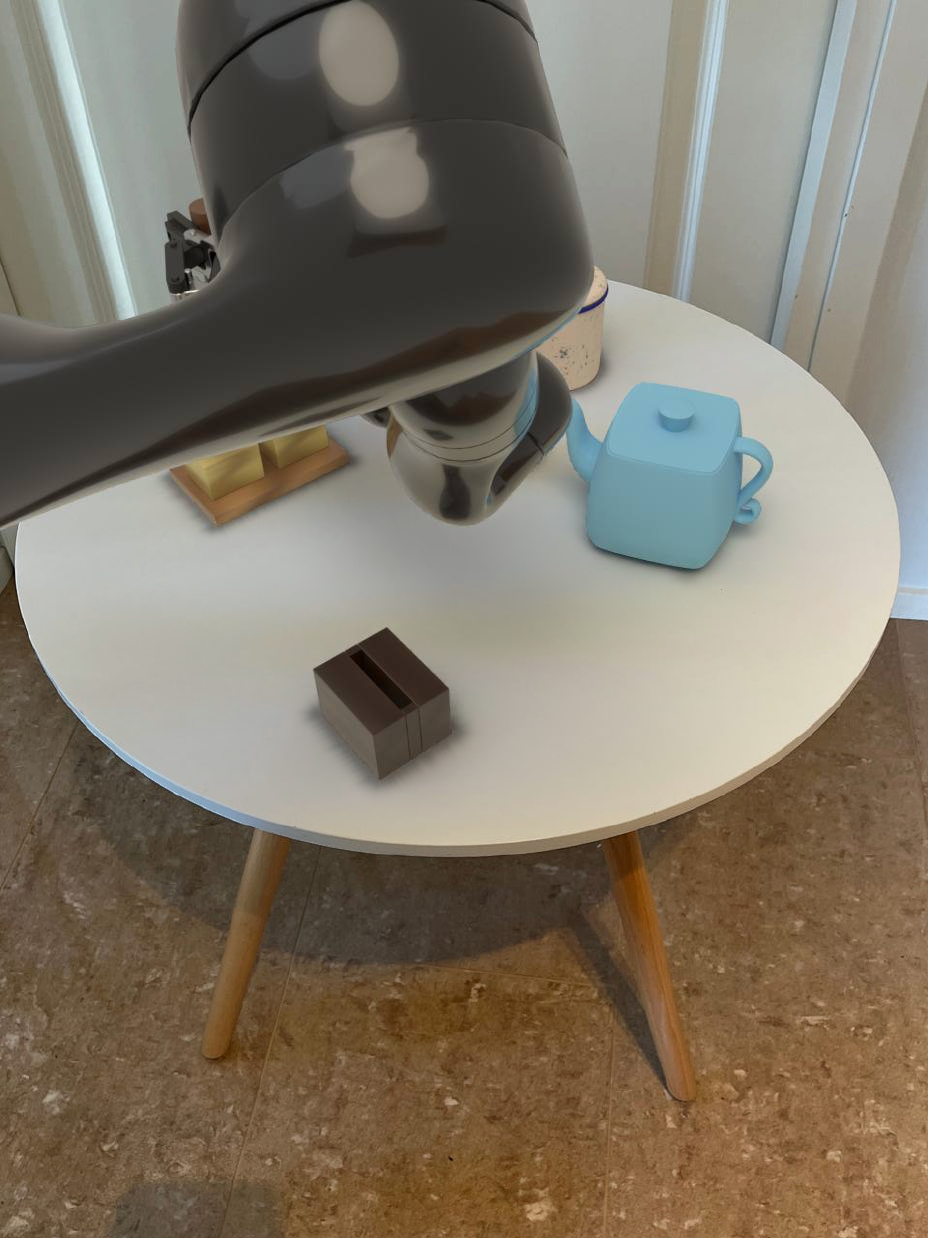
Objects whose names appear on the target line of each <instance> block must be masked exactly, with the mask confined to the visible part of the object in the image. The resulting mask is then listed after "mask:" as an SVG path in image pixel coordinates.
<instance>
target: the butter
mask: <svg viewBox="0 0 928 1238" xmlns="http://www.w3.org/2000/svg"><path fill="white" fill-rule="evenodd" d="M349 463H350V459H349V453H348V451H346V449H344V448H343V447H342V446H341V445H339V444H338V442H336V441H335V440H334V439H332V438H331V436H329V435H328V433H327V424H325V425H321V426H318V427H314V428H311V429H307V430H304V431H300V432H297V433H293V434H289V435H286V436H282V437H279V438H275V439H272V440H268V441H265V442H261V443H258V444H254V445H250V446H247V447H243V448H240V449H237V450H233V451H230V452H226V453H223V454H219V455H216V456H212V457H209V458H205V459H202V460H198V461H195V462H192V463H188V464H185V465H181V466H178V467H175V468H171V469H168V470H169V473H170V476H171V479H172V480H173V482H175V484H176V485H177V486H178V487H179V488H180V489H181V490H182V491H183V492H184V493H185V494H186V495H187V496H188V497H189V498H190V500H191V501H192V502H193V503H194V504H195V505H196V506H197V507H198V508H199V509H200V510H201V511H202V512H203V513H204V514H205V515H206V516H207V517H208V518H209V519H210V520H211V522H212V523H213V524H214V525H215V526H216V527H219V526H221V525H223V524H226V523H227V522H229V521H231V520H234V519H235V518H238V517H239V516H242V515H244V514H246V513H248V512H250V511H253V510H255V509H256V508H258V507H261V506H262V505H264V504H266V503H269V502H271V501H273V500H275V499H277V498H278V497H281V496H283V495H285V494H287V493H289V492H291V491H293V490H295V489H298V488H299V487H302V486H305V485H306V484H308V483H310V482H312V481H314V480H316V479H318V478H320V477H322V476H325V475H326V474H328V473H330V472H333V471H334V470H336V469H339V468H341V467H343V466H345V465H347V464H349Z"/></svg>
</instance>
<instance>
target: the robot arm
mask: <svg viewBox="0 0 928 1238" xmlns="http://www.w3.org/2000/svg"><path fill="white" fill-rule="evenodd" d="M174 49H175V63H176V74H177V79H178V88H179V95H180V102H181V109H182V115H183V120H184V125H185V130H186V135H187V137H188V141H189V145H190V152H191V155H192V159H193V163H194V167H195V171H196V177H197V180H198V184H199V189H200V193H201V196H202V197H201V198H203V201H204V205H205V209H206V213H207V217H208V221H209V225H210V230H211V234H212V235H209V234H207V233H205V232H203V231H201V230H199V227H198V226H197V225H195V224H193V223H192V221H191V219H189V218H188V217H186V216H185V215H184V214H182V213H181V212H180V211H179V210H173V211H169V212H167V213H166V220H165V221H164V227H165V231H166V234H167V239H168V241H167V242H165V244H164V263H165V265H164V266H165V280H166V281H165V282H166V285H167V289H168V294H169V298H170V301H171V303H170V304H167V305H165V306H161V307H160V308H156V309H155V310H151V311H148V312H145V313H141V314H138V315H135V316H132V317H128V318H124V319H120V320H113V321H108V322H107V321H106V322H102V323H95V324H87V325H75V324H67V323H59V322H52V321H46V320H41V319H34V318H30V317H25V316H23V315H22V316H21V315H17V314H13V313H8V312H5V311H2V310H0V531H2V530H4V529H7V528H10V527H12V526H14V525H15V526H16V525H17V524H19V523H22V522H25V521H27V520H29V519H32V518H35V517H38V516H40V515H42V514H45V513H47V512H50V511H52V510H55V509H58V508H61V507H63V506H66V505H68V504H71V503H73V502H76V501H79V500H81V499H84V498H87V497H90V496H92V495H96V494H98V493H100V492H101V493H102V492H104V491H106V490H109V489H112V488H115V487H118V486H120V485H123V484H127V483H129V482H132V481H136V480H139V479H142V478H145V477H148V476H152V475H154V474H157V473H160V472H165V471H168V470H169V469H171V468H175V467H178V466H181V465H185V464H188V463H192V462H195V461H198V460H202V459H205V458H209V457H212V456H216V455H219V454H223V453H226V452H230V451H233V450H237V449H240V448H243V447H247V446H250V445H254V444H258V443H261V442H265V441H268V440H272V439H275V438H279V437H282V436H286V435H289V434H293V433H297V432H300V431H304V430H307V429H311V428H314V427H318V426H321V425H327V424H332V423H335V422H339V421H342V420H347V419H350V418H353V417H357V416H359V417H361V418H362V419H363V420H365V421H366V422H368V423H370V424H371V425H372V426H373V425H374V426H375V427H378V428H381V429H385V430H386V437H385V438H386V440H385V441H386V443H385V444H386V452H387V457H388V458H387V459H388V461H389V465H390V468H391V470H392V472H393V474H394V476H395V479H396V481H397V482H398V484H399V486H400V487H401V489H402V491H404V493H405V494H406V495H407V497H408V498H409V499H410V501H412V503H414V505H416V506H417V507H418V508H419V509H420V510H422V512H424V513H425V514H426V515H428V516H430V517H431V518H433V519H434V520H436V521H439V522H441V523H444V524H446V525H450V526H456V527H470V526H475V525H478V524H480V523H482V522H484V521H486V520H487V519H489V518H490V517H492V516H493V515H494V514H495V513H496V512H497V511H498V510H500V509H501V507H503V505H504V504H505V503H506V502H507V501H508V499H509V498H510V497H511V496H513V495H512V494H513V493H515V491H516V490H517V489H518V488H519V487H520V486H521V485H522V484H523V482H524V481H525V480H526V479H527V478H528V476H530V474H531V473H532V472H534V470H535V469H536V467H537V466H538V465H540V464H541V462H542V461H543V460H544V458H545V457H546V456H548V454H549V453H551V451H552V450H553V449H554V448H555V446H556V445H557V444H558V443H559V442H560V441H561V439H562V438H563V437H564V436H565V435H566V431H567V429H568V428H569V426H570V423H571V420H572V417H573V401H572V397H573V395H572V392H571V390H570V389H569V386H568V384H567V382H566V380H565V378H564V377H563V375H562V374H561V372H560V371H559V370H558V368H557V367H556V366H555V365H554V364H553V363H552V362H551V361H550V360H549V359H547V358H546V357H545V356H544V355H542V354H541V353H540V352H538V351H536V349H535V348H537V347H539V346H540V345H541V344H543V343H544V342H545V341H547V340H548V339H549V338H551V337H552V336H553V335H554V334H556V333H557V332H558V331H560V330H561V329H562V328H563V327H564V326H566V325H567V324H568V323H569V322H570V321H572V319H573V318H574V317H575V316H576V315H577V314H578V313H579V311H580V310H581V308H582V307H583V305H584V303H585V302H586V299H587V297H588V295H589V292H590V290H591V287H592V284H593V281H594V270H595V268H594V265H595V261H594V253H593V247H592V240H591V236H590V232H589V227H588V223H587V222H588V221H587V218H586V215H585V211H584V206H583V203H582V200H581V195H580V192H579V189H578V185H577V181H576V178H575V173H574V169H573V166H572V164H571V162H570V160H569V159H570V158H569V155H568V153H567V148H566V144H565V141H564V137H563V134H562V130H561V127H560V123H559V119H558V116H557V112H556V109H555V105H554V101H553V98H552V94H551V90H550V86H549V83H548V79H547V76H546V71H545V69H544V65H543V61H542V58H541V52H540V48H539V43H538V39H537V38H536V35H535V30H534V25H533V22H532V18H531V15H530V12H529V10H528V7H527V4H526V1H525V0H179V4H178V11H177V21H176V32H175V48H174ZM192 270H195V271H196V272H198V273H200V274H202V275H203V276H204V275H206V276H207V277H208V279H209V280H208V282H205V281H202V280H200V278H199V277H198V276H196V275H193V271H192Z"/></svg>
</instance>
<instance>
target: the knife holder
mask: <svg viewBox="0 0 928 1238" xmlns="http://www.w3.org/2000/svg"><path fill="white" fill-rule="evenodd" d="M312 672H313V678H314V682H315V687H316V692H317V698H318V703H319V707H320V713H321V716H322V717H323V718H324V720H326V722H327V723H328V724H329V725H330V726H331V727H332V729H333V730H334V731H335V732H336V733H337V734H338V735H339V736H340V738H341V739H342V740H343V741H344V742H345V743H346V745H348V747H349V748H350V749H351V750H352V751H353V752H354V754H355V755H357V757H358V758H359V759H360V761H362V763H363V764H365V766H366V767H367V768H368V769H369V770H370V772H371V773H372V774H373V775H374V776H375V778H377V779H378V780H379V781H380V780H383V779H384V778H386V777H387V776H389V775H390V774H392V773H393V772H395V771H397V770H398V769H400V768H401V767H403V766H404V765H406V764H407V763H410V761H412V760H414V759H415V758H417V757H418V756H420V755H422V753H424V752H427V750H429V749H430V748H433V747H434V746H436V745H437V744H438V743H440V742H442V741H444V740H445V739H447V738H448V737H449V736H451V735H452V714H451V697H450V687H449V686H447V685H446V684H445V682H444V681H443V680H442V679H440V678H439V676H438V675H436V674H435V673H434V672H433V671H432V670H431V669H430V668H429V667H428V665H426V664H425V663H424V662H423V661H422V660H421V659H420V657H418V656H417V655H416V654H415V653H414V652H413V651H412V649H410V648H409V647H408V646H407V645H406V644H405V643H404V642H403V641H402V640H401V639H400V638H399V637H398V636H397V635H396V634H395V633H394V632H393V631H392V630H391V629H390V628H389V627H387V626H386V627H384V628H382V629H381V630H378V631H377V632H375V633H374V634H371V635H370V636H368V637H367V638H365V639H363V640H361V641H360V642H358V643H357V644H354V645H352V646H351V647H349V648H347V649H345V650H344V651H342V652H340V653H338V654H336V655H335V656H333V657H332V658H329V659H328V660H326V661H324V662H322V663H321V664H319V665H318V666H315V667H314V668H312Z"/></svg>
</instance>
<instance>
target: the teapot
mask: <svg viewBox="0 0 928 1238" xmlns="http://www.w3.org/2000/svg"><path fill="white" fill-rule="evenodd" d="M572 401H573V417H572V420H571V423H570V426H569V428H568V429H567V431H566V432H565V436H566V446H567V454H568V457H569V461H570V463H571V465H572V467H573V470H574V471H575V472H576V473H577V475H578V476H579V477H580V478H581V479H583V481H585V482H586V483H587V484H588V485H589V489H588V495H587V501H586V510H585V525H586V530H587V533H588V534H587V535H588V537H589V538H590V540H591V542H592V544H593V545H594V546H596V547H598V548H600V549H602V550H604V551H608V552H612V553H615V554H619V555H622V556H627V557H631V558H635V559H639V560H644V561H647V562H652V563H656V564H660V565H661V564H662V565H667V566H672V567H678V568H685V569H695V570H697V569H701V568H702V567H705V566H706V564H708V563H709V561H710V560H711V559H712V558H713V557H714V556H715V554H716V553H717V551H718V550H719V548H720V547H721V545H722V543H723V542H724V541H725V538H726V536H727V535H728V533H729V532H730V529H731V527H732V524H733V522H734V523H737V524H741V525H749V524H752V523H754V522H755V521H756V520H758V519H759V517H760V515H761V512H762V505H761V503H760V500H757V498H754V496H755V495H756V494H757V493H758V492H759V491H760V490H761V489H762V488H763V487H764V486H765V484H766V483H767V482H768V480H769V479H770V477H771V475H772V472H773V470H774V458H773V456H772V453H771V452H770V450H769V449H768V448H767V447H766V446H765V445H764V444H763V443H761V442H760V441H758V440H756V439H754V438H752V437H746V436H743V427H742V415H741V408H740V404H739V403H738V401H737V400H735V398H732V397H728V396H725V395H720V394H716V393H712V392H707V391H701V390H697V389H693V388H687V387H681V386H674V385H668V384H662V383H655V382H648V381H647V382H646V381H642V382H639V383H637V384H635V385H634V386H633V387H632V388H631V389H630V390H629V391H628V392H627V394H626V395H625V397H624V398H623V400H622V402H621V403H620V405H619V407H618V409H617V411H616V412H615V414H614V416H613V418H612V420H611V422H610V425H609V427H608V428H607V431H606V434H605V436H604V438H603V441H600V440H599V439H598V438H596V437H595V436H594V435H593V434H592V432H590V430H589V428H588V426H587V421H586V419H585V415H584V412H583V408H582V407H581V405H580V403H579V402H578V401H577V400H576V398H575V397H574V396H572ZM744 455H747V456H749V457H751V458H753V459H755V460H756V461H757V462H758V463H759V464H760V468H759V470H758V472H757V473H756V475H754V477H753V478H751V480H750V481H748V483H746V485H745V486H743V487H742V482H743V466H744ZM743 507H744V508H743ZM746 508H747V509H746Z"/></svg>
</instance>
